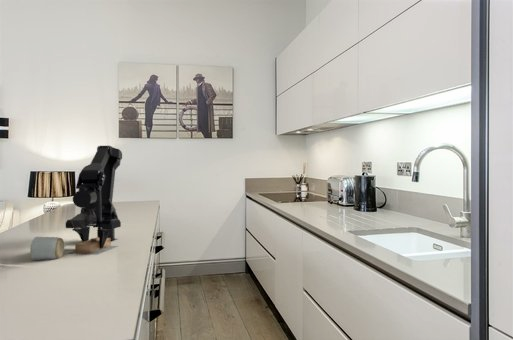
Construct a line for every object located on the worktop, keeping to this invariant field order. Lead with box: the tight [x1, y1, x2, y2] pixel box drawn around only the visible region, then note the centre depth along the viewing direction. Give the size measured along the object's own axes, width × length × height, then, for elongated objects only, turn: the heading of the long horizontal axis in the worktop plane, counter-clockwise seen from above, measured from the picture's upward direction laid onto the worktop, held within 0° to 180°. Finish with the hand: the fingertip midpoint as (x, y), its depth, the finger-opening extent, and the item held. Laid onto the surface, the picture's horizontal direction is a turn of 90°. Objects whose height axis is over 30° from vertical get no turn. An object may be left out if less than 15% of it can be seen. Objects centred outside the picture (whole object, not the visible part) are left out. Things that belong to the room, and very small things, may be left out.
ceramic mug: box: [29, 236, 65, 261], centre depth 117 cm, size 11×8×8 cm
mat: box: [67, 245, 119, 255], centre depth 126 cm, size 12×12×1 cm
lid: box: [74, 237, 112, 255], centre depth 126 cm, size 11×6×4 cm, turn 167°
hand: (93, 247), depth 126 cm, fingers closed on lid, 6 cm apart
